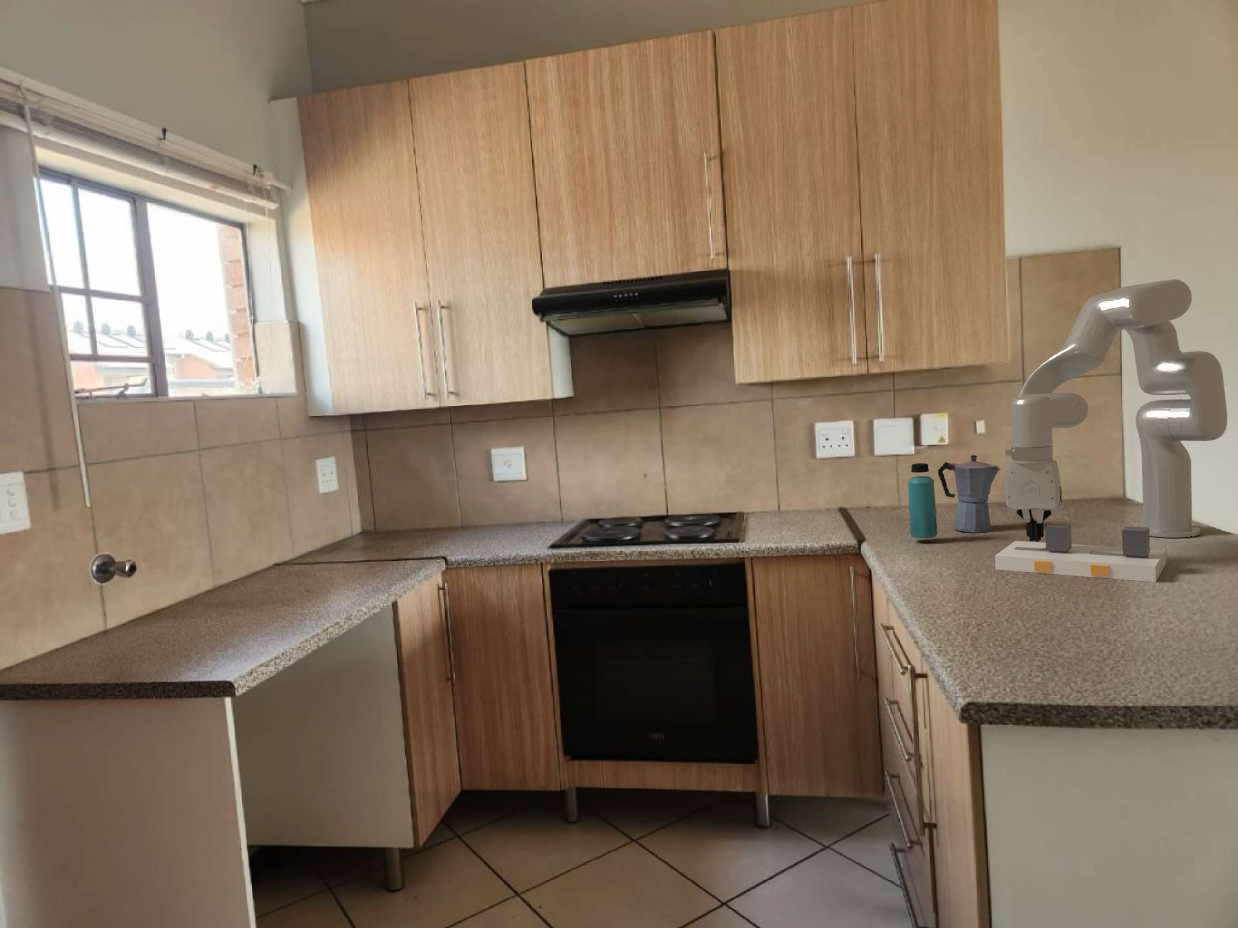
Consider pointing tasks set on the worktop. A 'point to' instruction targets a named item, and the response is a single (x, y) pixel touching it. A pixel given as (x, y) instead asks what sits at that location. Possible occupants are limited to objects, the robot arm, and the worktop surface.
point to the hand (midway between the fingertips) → (1035, 540)
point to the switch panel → (1081, 561)
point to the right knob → (1136, 541)
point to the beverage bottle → (922, 504)
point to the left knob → (1058, 537)
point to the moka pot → (971, 493)
